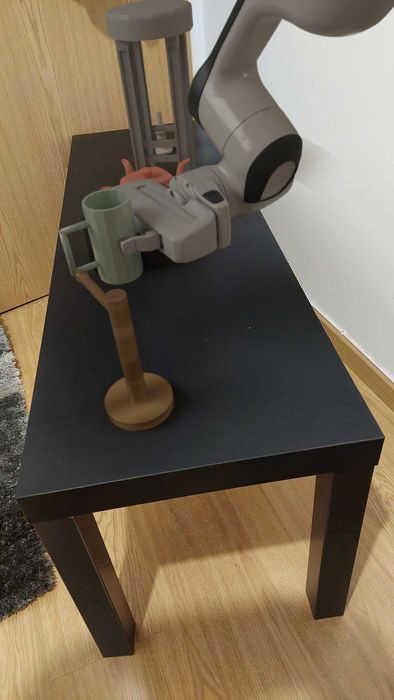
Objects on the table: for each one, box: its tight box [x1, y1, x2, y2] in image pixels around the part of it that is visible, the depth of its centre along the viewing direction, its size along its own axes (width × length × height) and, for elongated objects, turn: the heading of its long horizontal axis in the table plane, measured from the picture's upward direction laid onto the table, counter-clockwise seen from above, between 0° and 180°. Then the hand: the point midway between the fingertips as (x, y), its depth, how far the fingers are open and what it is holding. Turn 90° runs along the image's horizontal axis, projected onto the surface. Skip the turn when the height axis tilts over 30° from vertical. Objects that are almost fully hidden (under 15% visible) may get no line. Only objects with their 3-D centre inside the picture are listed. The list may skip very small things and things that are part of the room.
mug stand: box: [74, 270, 175, 432], centre depth 64 cm, size 16×9×18 cm, turn 34°
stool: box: [104, 0, 198, 173], centre depth 104 cm, size 16×16×35 cm
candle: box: [153, 111, 174, 155], centre depth 130 cm, size 5×5×10 cm
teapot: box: [99, 158, 190, 190], centre depth 102 cm, size 14×14×11 cm
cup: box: [58, 189, 144, 285], centre depth 68 cm, size 10×6×11 cm, turn 124°
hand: (107, 236), depth 68 cm, fingers closed on cup, 6 cm apart
